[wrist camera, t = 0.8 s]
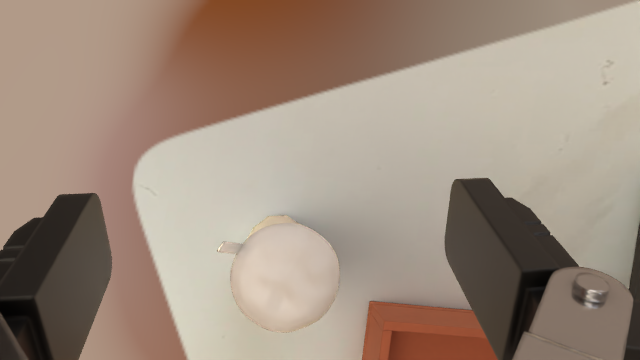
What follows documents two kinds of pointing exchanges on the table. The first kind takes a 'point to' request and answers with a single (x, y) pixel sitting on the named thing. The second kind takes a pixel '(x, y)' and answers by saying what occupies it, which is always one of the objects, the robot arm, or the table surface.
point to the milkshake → (283, 274)
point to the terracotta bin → (423, 334)
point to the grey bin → (636, 272)
